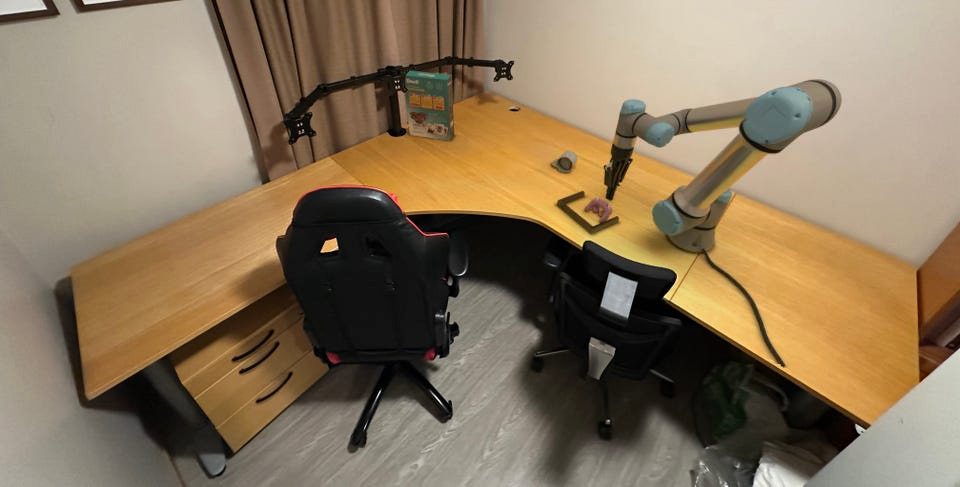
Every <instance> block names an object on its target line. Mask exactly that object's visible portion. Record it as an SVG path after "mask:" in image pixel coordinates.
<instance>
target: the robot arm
mask: <svg viewBox="0 0 960 487" xmlns="http://www.w3.org/2000/svg"><path fill="white" fill-rule="evenodd" d="M842 100H843V99H842V93H841V91H840V89H839V88H838V87H837V86H836V84H835V83H832V82H831V81H828V80H826V79H821V78H820V79H819V78H815V79H814V78H813V79H807V80H803V81H801V82H796V83H793V84H790V85H787V86H781V87H776V88H773V89H772V90H768V91H766V92H764V93H763V94H761V95H759V96H755V97H749V98H743V99H737V100H732V101H727V102H720V103H716V104H715V103H714V104H710V105H703V106H698V107H693V108H691V107H690V108H689V107H688V108H683V109H681V110H678V111H675V112H671V113H667V114H664V115H663V114H662V115H659V116H653V115H651V114H650V113H647V112H646V110H647V104H646V103H645V102H644V101H643V100H640V99H636V98H631V99H630V98H629V99H626V100H625V101H624V102H622V105H621V108H620V111H619V114H618V120H617V124H616V128H615V131H614V132H615V133H614V137H613V140H612V143H611V147H610V152H609V153H610V155H611V157H610V159H609V163H607V164H604V165H603V170H604V173H603V185H604V186H606V191H605V192H606V193H605V197H604V199H606V200H607V201H609V202H612V201H613V200H614V198H615V193H616V191H617V188H618V187H621V184H622V183H623V181H624V179H625V176H626V174H627V172H628V170H629V168H630V166H631V164H632V163H633V161H634V159H633V158H631V157H633V153H634V149H635V146H636V143H637V139H638V138H639V139H641V140H642V141H644V142H646V143H647V144H648V145H651V146H654V147H656V148H659V149H661V148H664V147H665V146H667V145H668V144H670V143H671V141H672V140H673V138H674V137H676V136H681V135H685V134H692V133H699V132H709V131H717V130H718V131H719V130H727V129H736V128H738V133H737V135H736V136H735V137H734V138H733V139H732V140H731V141H730V142H729V143H728V144H727V145H725V147H724V148H722V150H720V151H719V153H718V154H717V155H716V156H714V157H713V158H712V160H710V162H709V163H708V164H707V165H705V167H704V168H703V169H702V170H701V171H700V172H699V173H698V174H697V175H695V177H694V178H693V179H692V180H691V181H690V182H689V183H688V184H684V185H680V186H678V187H676V188H675V190H674V191H673V192H672V193H671V194H670V195H668V197H667V198H665V199H662V200H659V201H658V202H656V203H655V204H654V205H653V207H652V210H651V216H652V221H653V223H654V225H655V227H656V229H658V230H659V231H660V232H661V233H663V234H664V235H667V237H668V239H669V241H670V242H671V243H672V244H673V245H674V246H676V247H677V248H678V249H682V250H683V251H686V252H690V253H697V254H698V253H703V255H704V257H705V259H706V260H707V262H708V264H710V266H712V268H714V269H715V270H716V271H718V272H719V273H721V274H722V275H724V276H725V277H727V278H728V279H729V280H730V281H731V282H732V283H733V284H734V285H735V286H737V287H738V288H739V290H741V292H743V295H745V296H746V298H747V299H748V302H750V305H751V307H752V309H753V311H754V313H755V316H756V318H757V321H758V324H759V327H760V330H761V333H762V336H763V338H764V341H765V342H766V345H767V346H768V348H769V350H770V352H771V353H772V354H773V356H774V358H775V359H776V360H777V362H778V364H779V365H780V367H782V368H784V367H787V366H786V364H785V361H783V359H782V357H781V356H780V355H779V353H778V352H777V350H776V349H775V347H774V346H773V344H772V342H771V340H770V338H769V336H768V333H767V330H766V327H765V324H764V321H763V318H762V317H761V314H760V312H759V309H758V306H757V304H756V302H755V301H754V298H753V297H752V296H751V295H750V294H749V292H748V291H747V290H746V288H745V287H744V286H743V285H742V284H740V282H738V281H737V279H735V278H734V277H732V275H730V273H728V272H727V271H725V270H724V269H722V268H720V267H719V266H718V265H716V264H715V262H713V260H712V259H711V257H710V255H709V254H708V253H707V252H709V251H710V250H711V249H712V247H713V246H714V243H715V238H716V228H717V226H718V224H719V223H720V220H721V218H722V217H723V215H724V213H725V211H726V210H727V208H728V206H729V204H730V202H731V199H732V197H733V192H732V190H731V189H730V188H731V187H732V186H733V185H735V184H736V183H737V182H738V181H739V180H740V179H741V178H743V176H745V175H746V174H747V173H748V172H750V170H752V169H753V168H754V167H755V166H756V165H758V164H759V162H761V161H762V160H763V159H764V158H766V156H767V155H777V154H780V153H781V152H783V151H784V150H785V149H786V148H787V147H788V146H789V145H791V144H792V143H793V142H794V141H795V140H797V139H798V138H799V137H800V136H803V134H805V133H807V132H811V131H814V130H816V129H818V128H821V127H823V126H825V125H826V124H828V123H830V121H832V120H833V119H834V118H835V117H836V115H837V114H838V112H839V111H840V108H841V105H842Z"/></svg>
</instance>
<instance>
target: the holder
mask: <svg viewBox="0 0 960 487" xmlns="http://www.w3.org/2000/svg"><path fill="white" fill-rule="evenodd" d="M585 193H586V191H584V190H581V191H578V192H575V193H572V194H570V195H567V196H565V197H562V198H560V199H558V200H557V202H556V206H557V207H558V208H559V209H561V210H562V211H563V212H564V213H565V214H566V215H568V216H570V218H571V219H573V220H574V221H575V222H576V223H577V224H579V226H581V227H582V228H584V229H585V230H586V231H587V232H588V233H590V234H591V235H593V234H595V233H597V232H599V231H602V230H605V229H607V228H609V227H611V226H614V225H615V224H618V223H619V220H620V217H619V216H618V215H616V216H614V217H611V218H608V219H606V220H605V221H604V222H600V223H597V224H595V225H592V224H591V223H590V222H589V221H587V220H586V219H585V218H584V217H583V216H581V215H580V214H579V213H578V212H576V211H575V210H573V209H572V208H571V207H570V206H569V205H567V204H569V203H572V202H575V201H577V200H580V199H582V198H584V197H585Z"/></svg>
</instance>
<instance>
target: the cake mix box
mask: <svg viewBox="0 0 960 487" xmlns="http://www.w3.org/2000/svg"><path fill="white" fill-rule="evenodd" d="M405 86H406V88H407V89H408V91H407V92H406V93H405V92H404V98H405V106H406V107H405V108H406V112H407V121H408V130H409V136H415V137H422V138H427V139H428V138H429V139H435V140H441V141H449V142H451V141H452V140H453V138H454V136H455V119H454V117H455V116H454V99H453V98H454V96H453V95H454V94H453V75H452V74H444V73H435V72H426V71H417V70H409V72H408V73H407V74H406V77H405Z"/></svg>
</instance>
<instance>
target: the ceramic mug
mask: <svg viewBox="0 0 960 487" xmlns="http://www.w3.org/2000/svg"><path fill="white" fill-rule="evenodd" d="M577 162H578V156H577V153H575V151H573V150H566V151H565V152H563V153H562V154H561V155H560V156H559V157H558V158H556V159H554V160H552V161H551V166H552V167H556V168H557V169H558V171H560V172H561V173H569V172H571V171H572V170H573V168H574V167H575V166H576V163H577Z"/></svg>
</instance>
